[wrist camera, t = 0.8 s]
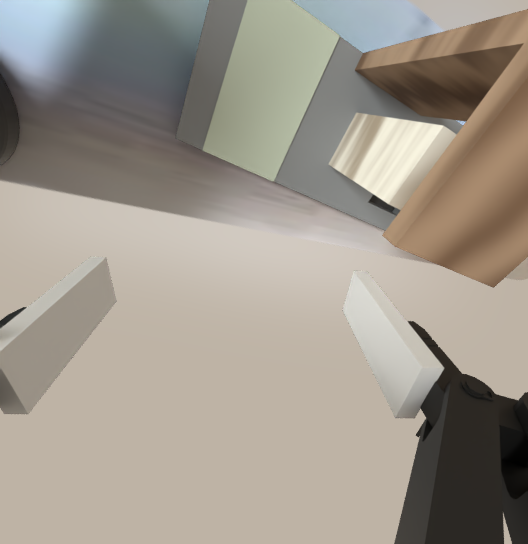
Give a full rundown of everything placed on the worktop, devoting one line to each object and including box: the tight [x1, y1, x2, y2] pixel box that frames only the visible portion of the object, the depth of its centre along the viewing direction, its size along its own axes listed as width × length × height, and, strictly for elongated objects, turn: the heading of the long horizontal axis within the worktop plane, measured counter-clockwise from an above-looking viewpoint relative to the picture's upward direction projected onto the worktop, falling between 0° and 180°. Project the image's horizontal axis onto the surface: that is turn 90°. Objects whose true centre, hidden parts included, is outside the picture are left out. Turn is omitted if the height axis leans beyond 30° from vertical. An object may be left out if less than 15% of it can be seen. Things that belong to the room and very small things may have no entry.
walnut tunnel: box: [355, 9, 528, 287], centre depth 23 cm, size 10×12×20 cm
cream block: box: [329, 113, 457, 210], centre depth 26 cm, size 5×6×14 cm
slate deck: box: [175, 0, 463, 231], centre depth 32 cm, size 33×15×3 cm, turn 66°
